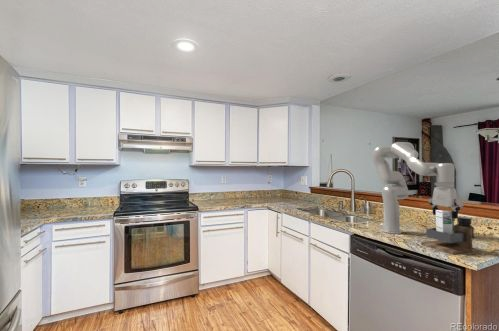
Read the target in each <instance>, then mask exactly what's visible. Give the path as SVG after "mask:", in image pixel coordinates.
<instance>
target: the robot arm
mask: <svg viewBox="0 0 499 331" xmlns="http://www.w3.org/2000/svg"><path fill="white" fill-rule="evenodd" d="M371 157H372V161H373V163H374V166H375V167H376V172H377V174H378V177H379V181H380V182H381V184H383V185H386V186H385V187H383V188H382V190H381V197H382V202H383V203H382V204H383V207H382V208H383V222H381V223H379V226H380V227H381V228H380V230H381V232H383V233H387V234H393V235H394V234H395V235H396V234H398V235H399V234H403V230H401V227H400V226H401V225H400V224H401V223H400V222H401V221H400V219H401V218H400V217H401V216H400V211H401V210H400V204H399V202H398V200H405V199H407V198H408V197H409V195H410V194H409V188H408V186H407V183H406V180H405V177H404V175H403V174H402V173H401V172H400V171H397V170H392V168H391V165H390V164H389V162H388V161H387V159H399V158H400V159H401V160H403V161H404V162H405V163H406V165H407V167H408V168H409V170H411V171H412V172H414V173H415V174H417V175H420V176H422V177H423V176H424V177H425V176H427V177H428V176H429V177H434V176H436V180H435V181H436V182H434V188H433V193H432V197H431V198H428V199H427V200H428V204H429V205H430V206H431V208H432V215H433V216H436V210H439V208H438V207H445V208H450V209H451V211H452V219H454V220H455V219H456V220H457V217H459V211H460V210H462V209H463V207H464V205H465V204H464V203H463V202H461V201H460V200H458V195H457V191H456V190H457V189H456V188H455V164H454V163H451V162H443V163H442V162H441V163H439V162H424V161H422V160H420V159H418V158H419V152H418V151H417V150H415V146H414V145H413V144H412V142H407V141H396V142H394V143H392V144H391V146H385V145H384V146H383V145H382V146H377V147H375V148H374V150H372V156H371ZM435 186H436V187H435Z"/></svg>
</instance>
